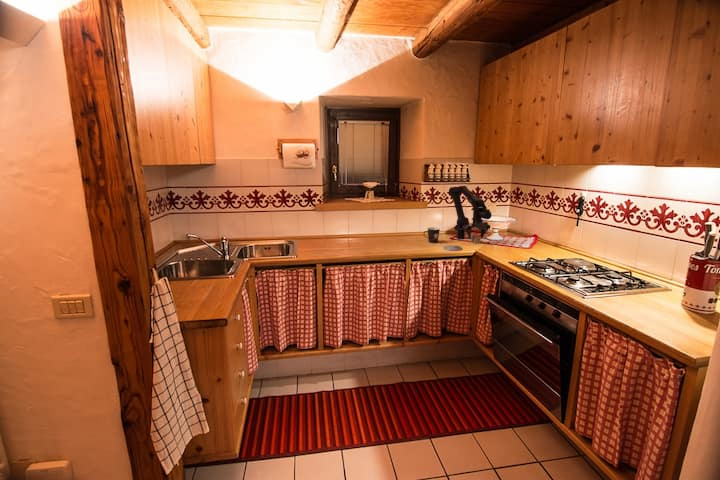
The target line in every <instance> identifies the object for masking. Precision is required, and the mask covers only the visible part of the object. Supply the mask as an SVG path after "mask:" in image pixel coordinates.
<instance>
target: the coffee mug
mask: <svg viewBox="0 0 720 480" xmlns="http://www.w3.org/2000/svg"><path fill="white" fill-rule="evenodd" d="M440 231H441V229H440V228H439V227H435V226H433V227H427V230H425V231H423V236H424V238H426V239H428V243H429V244H437V243H439V236H440ZM426 232H427V236H426V235H425V233H426Z"/></svg>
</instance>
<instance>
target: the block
mask: <svg viewBox="0 0 720 480" xmlns="http://www.w3.org/2000/svg"><path fill="white" fill-rule="evenodd" d="M481 240H482V239H481V235H478V234H472V235H471V239H470V242H471V243H472V244H475V245H476V244H478V245H479V244H481V242H482V241H481Z"/></svg>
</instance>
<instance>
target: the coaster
mask: <svg viewBox="0 0 720 480" xmlns="http://www.w3.org/2000/svg"><path fill="white" fill-rule="evenodd" d="M443 250H445V251H451V252H458V251H461V250H463V248H462V246H459V245H455V244H454V245H443Z"/></svg>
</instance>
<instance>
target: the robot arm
mask: <svg viewBox="0 0 720 480" xmlns="http://www.w3.org/2000/svg"><path fill="white" fill-rule="evenodd" d="M448 192H449V193H448V194H449V195H450V197H451V198H452V200H453V204H454V208H455V212H456V215H457V219H456V225H455V226H454V227H453V229H454V231H456V236H454V238H455V239H458V240H462V239H464V240H465V238H466V236H465V235H466V234H467V237H468V239H469V240H471V234H472V230H474V229H478V230H479V231H480V237H481V240H482V239H484V235H485V234H486V232H487V231H489V230H491V225H490V224H489V223H488V222H487V221H485V222H484V221H483V219H484V220H490V219H491V218H492V216H493V215H492V212H491V211H490V209H489V208H487V206H486V203H485V201H484V199H483V198H481V197H478V196H476V195H475V194H474V193H473V192H472V191H471V190H470V189H469V188H468V187H467V185H459V186H451V187H449V190H448ZM462 194H463V195H464V196H465V198H467V199H468V200H469V201H470V205H471V206H472V208H471V209H470V210H471V211H473V213H472V218H471V220H472V223H471V225H470V221H469V218H468V217H466V216H465V212H464V207H463V203H462V200H461V195H462Z"/></svg>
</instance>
